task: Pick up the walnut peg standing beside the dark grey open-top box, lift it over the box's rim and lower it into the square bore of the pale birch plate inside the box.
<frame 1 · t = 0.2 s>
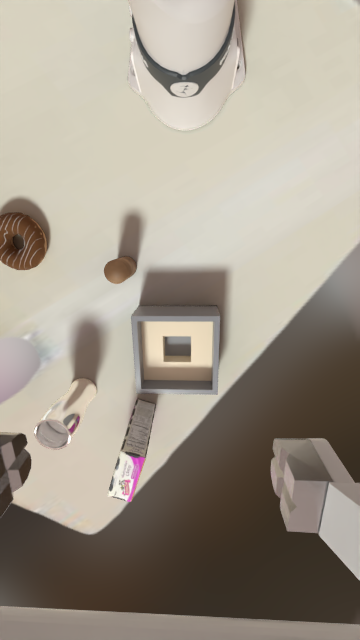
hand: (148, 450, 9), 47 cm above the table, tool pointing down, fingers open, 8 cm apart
candy bar box: (141, 419, 65), on the table
peg: (126, 266, 54), on the table
open-top box: (178, 341, 58), on the table
donut: (25, 241, 54), on the table
beer glass: (84, 389, 63), on the table
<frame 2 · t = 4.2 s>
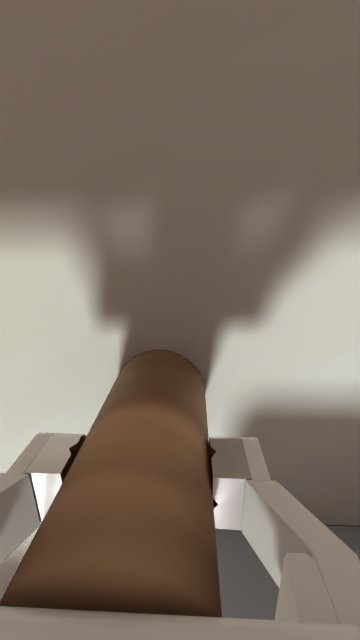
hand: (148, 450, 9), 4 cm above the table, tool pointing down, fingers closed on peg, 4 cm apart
peg: (160, 390, 12), on the table, touching gripper
open-top box: (332, 621, 17), on the table
when the fingers open (6 cm above the table, at t = 10.8 s): peg drops 1 cm, resting on open-top box.
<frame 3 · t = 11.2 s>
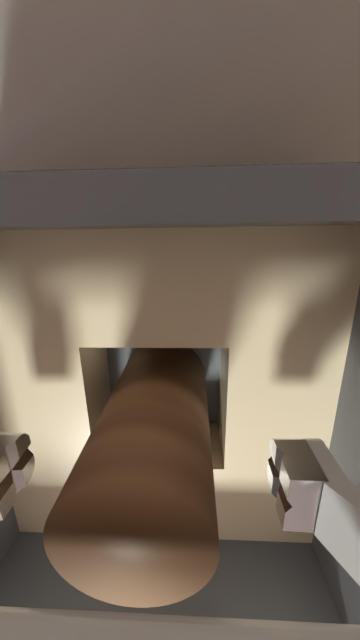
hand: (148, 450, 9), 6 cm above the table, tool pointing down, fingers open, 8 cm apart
peg: (165, 376, 14), point 1 cm above the table, touching open-top box
open-top box: (165, 366, 15), on the table
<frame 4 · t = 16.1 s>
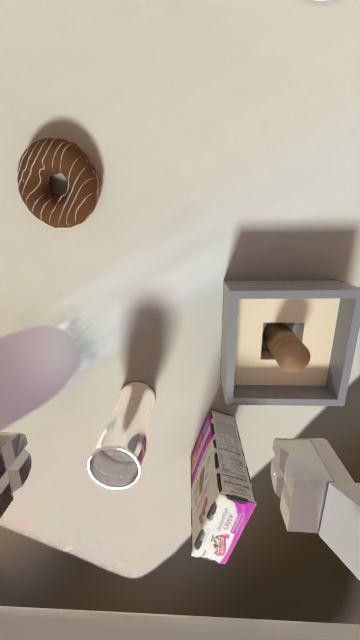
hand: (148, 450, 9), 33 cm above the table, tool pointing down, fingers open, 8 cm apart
candy bar box: (212, 436, 49), on the table
peg: (276, 334, 41), point 1 cm above the table, touching open-top box
open-top box: (273, 331, 42), on the table
donut: (66, 187, 38), on the table
beer glass: (138, 396, 47), on the table
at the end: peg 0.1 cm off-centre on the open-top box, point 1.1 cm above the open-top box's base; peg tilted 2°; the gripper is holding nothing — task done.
